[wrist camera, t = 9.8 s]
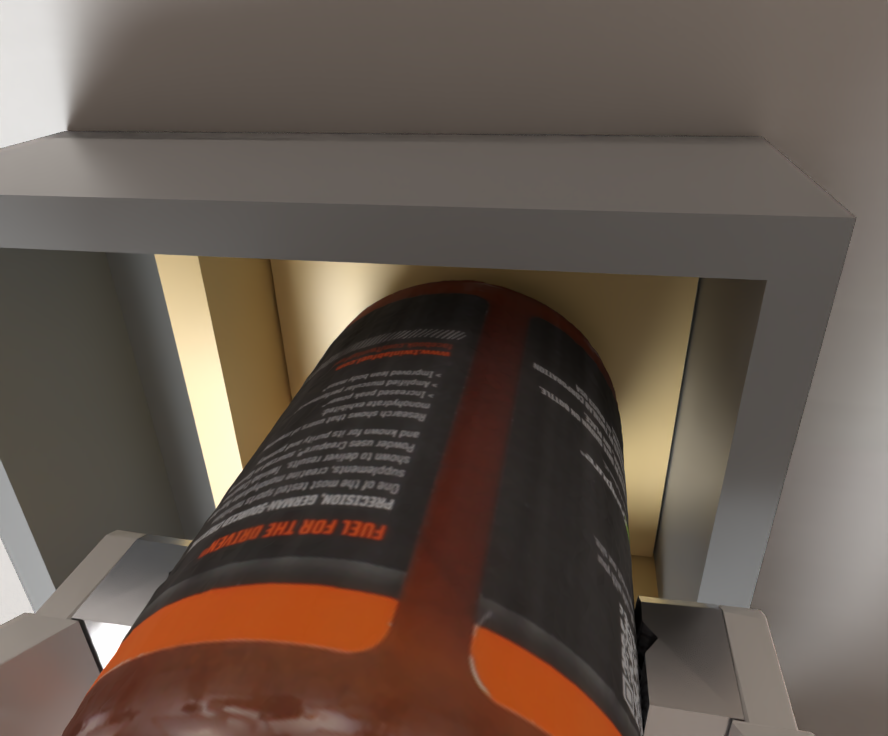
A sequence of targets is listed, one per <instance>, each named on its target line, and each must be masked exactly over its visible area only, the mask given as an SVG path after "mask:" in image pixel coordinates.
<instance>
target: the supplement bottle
mask: <svg viewBox="0 0 888 736" xmlns="http://www.w3.org/2000/svg"><path fill="white" fill-rule="evenodd" d="M62 736H643V722H642V711H641V695H640V681H639V665H638V649H637V638H636V625H635V608H634V594H633V580H632V561H631V551H630V538H629V524H628V508H627V492H626V480H625V470H624V454H623V436H622V425H621V419H620V413H619V410H618V403H617V400H616V394H615V390H614V387H613V384H612V381H611V378H610V376H609V374H608V372H607V370H606V368H605V366H604V364H603V362H602V360H601V358H600V356H599V355H598V353H597V351H596V350H595V349H594V348H593V347H592V346H591V344H590V343H589V341H588V339H587V338H586V337H585V336H584V335H583V334H582V333H581V331H580V330H578V329H577V328H576V327H575V326H574V325H573V324H572V323H570V322H569V321H568V320H567V319H566V318H564V317H563V316H562V315H561V314H559V313H558V312H556V311H555V310H553V309H551V308H550V307H548V306H547V305H545V304H543V303H541V302H539V301H537V300H535V299H533V298H531V297H529V296H526V295H524V294H522V293H519V292H516V291H514V290H511V289H508V288H506V287H502V286H498V285H493V284H488V283H485V282H481V281H475V280H450V281H446V280H444V281H440V282H429V283H425V284H420V285H416V286H412V287H409V288H406V289H403V290H399V291H397V292H395V293H393V294H390V295H388V296H386V297H384V298H382V299H380V300H379V301H377V302H375V303H373V304H372V305H370V306H368V307H367V308H366V309H364V310H363V311H362V312H361V313H360V314H359V315H358V316H357V317H356V318H355V319H354V320H353V321H352V322H351V323H350V324H349V325H348V326H347V327H346V328H345V329H344V331H343V332H341V334H340V335H339V336H338V337H337V338H336V339H335V340H334V341H333V342H332V344H331V345H330V346H329V348H328V349H327V351H326V352H325V354H324V355H323V357H322V358H321V359H320V361H319V362H318V364H317V365H316V367H315V368H314V369H313V371H312V372H311V374H310V375H309V376H308V377H307V379H306V380H305V382H304V384H303V385H302V387H301V388H300V390H299V391H298V393H297V394H296V395H295V397H294V398H293V400H292V401H291V402H290V404H289V406H288V407H287V409H286V410H285V411H284V412H283V413H282V415H281V416H280V418H279V419H278V421H277V422H276V423H275V425H274V426H273V428H272V430H271V431H270V432H269V434H268V435H267V436H266V438H265V439H264V441H263V442H262V443H261V445H260V446H259V448H258V449H257V451H256V452H255V454H254V455H253V456H252V458H251V459H250V460H249V462H248V463H247V464H246V466H245V467H244V469H243V470H242V472H241V473H240V474H239V476H238V477H237V478H236V480H235V481H234V483H233V484H232V485H231V486H230V488H229V489H228V491H227V492H226V494H225V495H224V497H223V498H222V500H221V502H220V503H219V505H218V506H217V508H216V509H215V511H214V512H213V513H212V514H211V516H210V517H209V518H208V519H207V520H206V522H205V523H204V525H203V527H202V528H201V530H200V531H199V533H198V534H197V536H196V537H195V538H194V540H193V541H192V542H191V543H190V544H189V546H188V548H187V549H186V551H185V552H184V554H183V556H182V557H181V559H180V560H179V562H178V563H177V564H176V566H175V567H174V569H173V570H172V571H171V573H170V574H169V576H168V578H167V579H166V580H165V582H163V583H162V584H161V585H160V586H159V587H158V588H157V589H156V591H155V592H154V594H153V595H152V597H151V599H150V600H149V602H148V603H147V605H146V606H145V608H144V609H143V611H142V612H141V614H140V615H139V616H138V618H137V619H136V621H135V622H134V624H133V625H132V627H131V628H130V630H129V631H128V633H127V634H126V636H125V637H124V639H123V640H122V642H121V644H120V646H119V648H118V649H117V651H116V653H115V654H114V656H113V657H112V658H111V660H110V661H109V662H108V664H107V665H106V666H105V668H104V669H103V670H102V672H101V673H100V675H99V676H98V678H97V679H96V681H95V682H94V683H93V685H92V686H91V688H90V689H89V691H88V692H87V694H86V695H85V697H84V699H83V701H82V702H81V704H80V706H79V707H78V709H77V711H76V713H75V715H74V716H73V718H72V719H71V721H70V722H69V724H68V725H67V726H66V728H65V729H64V731H63V734H62Z"/></svg>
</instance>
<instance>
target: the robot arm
mask: <svg viewBox="0 0 888 736" xmlns="http://www.w3.org/2000/svg"><path fill="white" fill-rule="evenodd" d="M191 542H192V540H185V539H179V538H172V537H166V536H159V535H153V534H142V533H136V532H129V531H122V530H116V531H114V532H112V533H109V534H107V535H106V536H105V537H104V538H103V539H102V540H101V541H100V542H99V543H98V544H97V545H96V547H95V548H94V549H93V550H92V551H91V552H90V553H89V554H88V555H87V557H86V558H85V559H84V560H83V561H82V562H81V563H80V564H79V565H78V566H77V568H76V569H75V570H74V571H73V572H72V573H71V574H70V575H69V576H68V577H67V579H66V580H65V581H64V582H63V583H62V584H61V585H60V586H59V587H58V589H57V590H56V591H55V592H54V593H53V594H52V595H51V596H50V597H49V598H48V600H47V601H46V602H45V603H44V604H43V605H42V606H41V607H40V608H39V610H38V611H37V612H36V613H35V614H32V613H23V614H21V615H19V616H17V617H16V618H14V619H12V620H10V621H8V622H6V623H4V624H2V625H0V736H62V734H63V731H64V729H65V728H66V726H67V725H68V724H69V722H70V721H71V719H72V718H73V716H74V715H75V713H76V711H77V709H78V707H79V706H80V704H81V702H82V701H83V699H84V697H85V695H86V694H87V692H88V691H89V689H90V688H91V686H92V685H93V683H94V682H95V681H96V679H97V678H98V676H99V675H100V673H101V672H102V670H103V669H104V668H105V666H106V665H107V664H108V662H109V661H110V660H111V658H112V657H113V656H114V654H115V653H116V651H117V649H118V648H119V646H120V644H121V642H122V640H123V639H124V637H125V636H126V634H127V633H128V631H129V630H130V628H131V627H132V625H133V624H134V622H135V621H136V619H137V618H138V616H139V615H140V614H141V612H142V611H143V609H144V608H145V606H146V605H147V603H148V602H149V600H150V599H151V597H152V595H153V594H154V592H155V591H156V589H157V588H158V587H159V586H160V585H161V584H162V583H163V582H165V580H166V579H167V578H168V576H169V574H170V573H171V571H172V570H173V569H174V567H175V566H176V564H177V563H178V562H179V560H180V559H181V557H182V556H183V554H184V552H185V551H186V549H187V548H188V546H189V544H190V543H191ZM635 625H636V638H637V649H638V665H639V681H640V695H641V711H642V722H643V736H815V735H814V734H813V733H812V732H807V731H801V730H798V727H797V723H796V720H795V716H794V713H793V709H792V706H791V702H790V699H789V695H788V692H787V688H786V685H785V681H784V678H783V674H782V671H781V667H780V664H779V660H778V657H777V653H776V650H775V646H774V643H773V639H772V636H771V632H770V629H769V625H768V622H767V618H766V616H765V615H764V613H763V612H762V611H761V610H759V609H750V608H742V607H733V606H724V605H719V606H717V605H716V604H708V603H700V602H691V601H682V600H673V599H664V598H655V597H647V596H638V598H637V601H636V605H635Z"/></svg>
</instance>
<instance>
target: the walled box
mask: <svg viewBox="0 0 888 736" xmlns="http://www.w3.org/2000/svg"><path fill="white" fill-rule="evenodd" d="M855 221H856V217H855V216H854V215H853V214H851V213H850V212H849V211H848V210H847V209H846V208H844V207H843V206H842V205H841V204H840V203H839V202H837V201H836V200H835V199H834V198H833V197H832V196H830V195H829V194H828V193H827V192H826V191H825V190H824V189H822V188H821V187H820V186H819V185H818V184H817V183H815V182H814V181H813V180H812V179H811V178H810V177H808V176H807V175H806V174H805V173H804V172H803V171H801V170H800V169H799V168H798V167H797V166H796V165H794V164H793V163H792V162H791V161H790V160H789V159H787V158H786V157H785V156H784V155H783V154H782V153H780V152H779V151H778V150H777V149H776V148H775V147H773V146H772V145H771V144H770V143H769V142H768V141H766V140H765V139H764V138H763V137H760V136H629V135H498V134H367V133H237V132H106V131H64V132H60V133H56V134H52V135H49V136H45V137H41V138H37V139H34V140H30V141H26V142H23V143H19V144H15V145H11V146H8V147H4V148H0V538H1V540H2V542H3V544H4V547H5V549H6V551H7V553H8V555H9V558H10V560H11V562H12V564H13V566H14V569H15V571H16V573H17V575H18V577H19V580H20V582H21V584H22V586H23V589H24V591H25V593H26V595H27V597H28V600H29V602H30V604H31V606H32V608H33V611H34V613H36V612H37V611H38V610H39V608H40V607H41V606H42V605H43V604H44V603H45V602H46V601H47V600H48V598H49V597H50V596H51V595H52V594H53V593H54V592H55V591H56V590H57V589H58V587H59V586H60V585H61V584H62V583H63V582H64V581H65V580H66V579H67V577H68V576H69V575H70V574H71V573H72V572H73V571H74V570H75V569H76V568H77V566H78V565H79V564H80V563H81V562H82V561H83V560H84V559H85V558H86V557H87V555H88V554H89V553H90V552H91V551H92V550H93V549H94V548H95V547H96V545H97V544H98V543H99V542H100V541H101V540H102V539H103V538H104V537H105V536H106V535H107V534H109V533H112V532H114V531H116V530H122V531H129V532H136V533H142V534H153V535H159V536H166V537H172V538H179V539H185V540H192V541H193V540H194V538H195V537H196V536H197V534H198V533H199V531H200V530H201V528H202V527H203V525H204V523H205V522H206V520H207V519H208V518H209V517H210V516H211V514H212V513H213V512H214V511H215V509H216V508H217V506H218V505H219V503H220V502H221V500H222V498H223V497H224V495H225V494H226V492H227V491H228V489H229V488H230V486H231V485H232V484H233V483H234V481H235V480H236V478H237V477H238V476H239V474H240V473H241V472H242V470H243V469H244V467H245V466H246V464H247V463H248V462H249V460H250V459H251V458H252V456H253V455H254V454H255V452H256V451H257V449H258V448H259V446H260V445H261V443H262V442H263V441H264V439H265V438H266V436H267V435H268V434H269V432H270V431H271V430H272V428H273V426H274V425H275V423H276V422H277V421H278V419H279V418H280V416H281V415H282V413H283V412H284V411H285V410H286V409H287V407H288V406H289V404H290V402H291V401H292V400H293V398H294V397H295V395H296V394H297V393H298V391H299V390H300V388H301V387H302V385H303V384H304V382H305V380H306V379H307V377H308V376H309V375H310V374H311V372H312V371H313V369H314V368H315V367H316V365H317V364H318V362H319V361H320V359H321V358H322V357H323V355H324V354H325V352H326V351H327V349H328V348H329V346H330V345H331V344H332V342H333V341H334V340H335V339H336V338H337V337H338V336H339V335H340V334H341V332H343V331H344V329H345V328H346V327H347V326H348V325H349V324H350V323H351V322H352V321H353V320H354V319H355V318H356V317H357V316H358V315H359V314H360V313H361V312H362V311H363V310H364V309H366V308H367V307H368V306H370V305H372V304H373V303H375V302H377V301H379V300H380V299H382V298H384V297H386V296H388V295H390V294H393V293H395V292H397V291H399V290H403V289H406V288H409V287H412V286H416V285H420V284H425V283H429V282H440V281H444V280H446V281H450V280H475V281H481V282H485V283H488V284H493V285H498V286H502V287H506V288H508V289H511V290H514V291H516V292H519V293H522V294H524V295H526V296H529V297H531V298H533V299H535V300H537V301H539V302H541V303H543V304H545V305H547V306H548V307H550V308H551V309H553V310H555V311H556V312H558V313H559V314H561V315H562V316H563V317H564V318H566V319H567V320H568V321H569V322H570V323H572V324H573V325H574V326H575V327H576V328H577V329H578V330H580V331H581V333H582V334H583V335H584V336H585V337H586V338H587V339H588V341H589V343H590V344H591V346H592V347H593V348H594V349H595V350H596V351H597V353H598V355H599V356H600V358H601V360H602V362H603V364H604V366H605V368H606V370H607V372H608V374H609V376H610V378H611V381H612V384H613V387H614V390H615V394H616V400H617V403H618V410H619V413H620V419H621V425H622V436H623V454H624V470H625V480H626V492H627V508H628V524H629V538H630V551H631V561H632V580H633V594H634V608H635V605H636V601H637V598H638V596H647V597H655V598H664V599H673V600H682V601H691V602H700V603H708V604H716V605H717V606H719V605H724V606H733V607H742V608H750V605H751V601H752V598H753V594H754V590H755V587H756V583H757V579H758V576H759V572H760V568H761V565H762V561H763V557H764V554H765V550H766V547H767V543H768V539H769V536H770V532H771V528H772V525H773V521H774V517H775V514H776V510H777V506H778V503H779V499H780V495H781V492H782V488H783V484H784V481H785V477H786V473H787V470H788V466H789V462H790V459H791V455H792V451H793V448H794V444H795V440H796V437H797V433H798V429H799V426H800V422H801V418H802V415H803V411H804V407H805V404H806V400H807V397H808V393H809V389H810V386H811V382H812V378H813V375H814V371H815V367H816V364H817V360H818V356H819V353H820V349H821V345H822V342H823V338H824V334H825V331H826V327H827V323H828V320H829V316H830V312H831V309H832V305H833V301H834V298H835V294H836V290H837V287H838V283H839V279H840V276H841V272H842V268H843V265H844V261H845V258H846V254H847V250H848V247H849V243H850V239H851V236H852V232H853V228H854V225H855Z"/></svg>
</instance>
